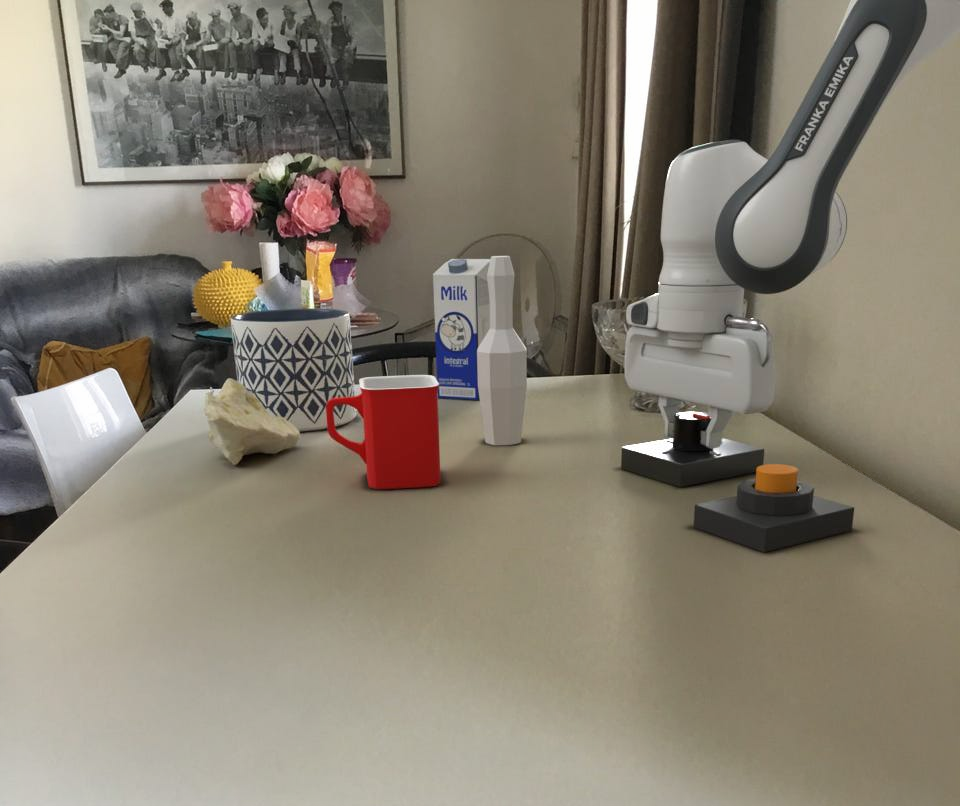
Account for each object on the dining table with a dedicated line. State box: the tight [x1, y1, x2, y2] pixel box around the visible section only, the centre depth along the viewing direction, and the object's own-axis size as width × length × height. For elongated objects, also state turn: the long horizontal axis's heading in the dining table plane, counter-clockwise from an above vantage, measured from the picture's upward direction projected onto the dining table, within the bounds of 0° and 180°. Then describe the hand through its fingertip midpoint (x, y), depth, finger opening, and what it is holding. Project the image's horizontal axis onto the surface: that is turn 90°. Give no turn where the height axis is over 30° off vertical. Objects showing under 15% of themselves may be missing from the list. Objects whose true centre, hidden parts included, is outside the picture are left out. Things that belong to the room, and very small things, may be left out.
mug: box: [326, 374, 442, 490], centre depth 114 cm, size 12×8×11 cm
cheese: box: [203, 377, 301, 466], centre depth 126 cm, size 15×7×15 cm
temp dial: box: [672, 411, 712, 452], centre depth 116 cm, size 4×4×4 cm
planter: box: [230, 308, 357, 432], centre depth 145 cm, size 16×16×14 cm
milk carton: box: [431, 258, 491, 401], centre depth 160 cm, size 7×7×20 cm
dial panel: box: [620, 437, 765, 488], centre depth 117 cm, size 12×10×3 cm
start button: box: [755, 463, 799, 493], centre depth 95 cm, size 4×4×2 cm
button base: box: [693, 477, 855, 553], centre depth 96 cm, size 11×9×4 cm
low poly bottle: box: [477, 255, 528, 446], centre depth 129 cm, size 6×6×22 cm
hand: (691, 442), depth 116 cm, fingers closed on temp dial, 4 cm apart
